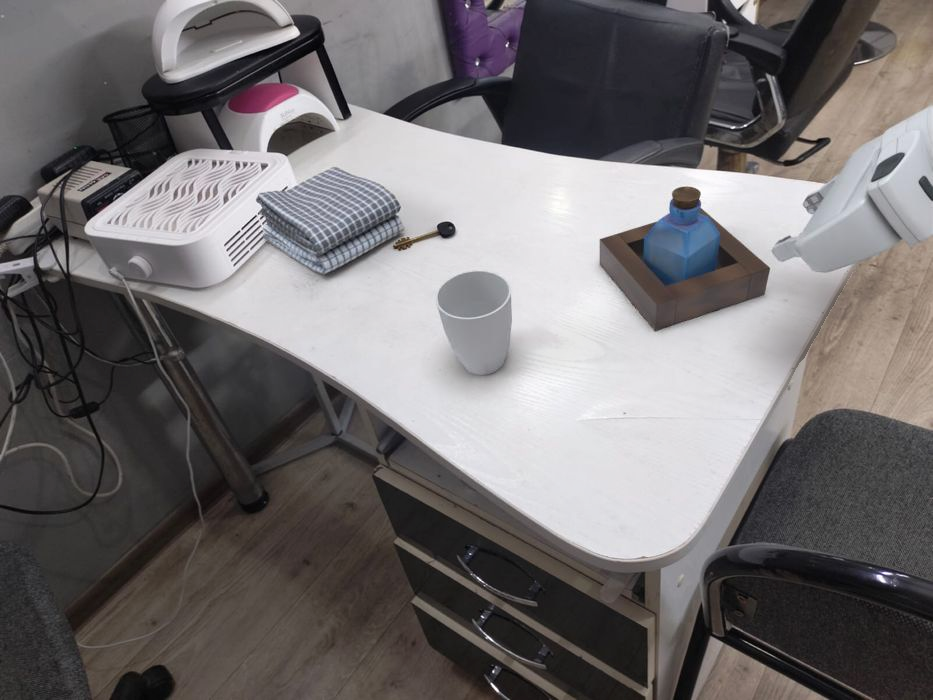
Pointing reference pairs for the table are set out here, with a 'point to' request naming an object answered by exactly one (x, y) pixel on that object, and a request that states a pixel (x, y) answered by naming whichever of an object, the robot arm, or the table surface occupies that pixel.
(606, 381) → the table surface
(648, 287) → the stand
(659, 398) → the table surface
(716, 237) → the perfume bottle
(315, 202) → the towel
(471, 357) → the cup
